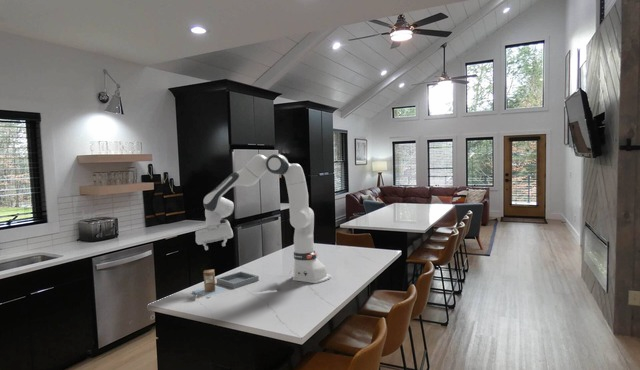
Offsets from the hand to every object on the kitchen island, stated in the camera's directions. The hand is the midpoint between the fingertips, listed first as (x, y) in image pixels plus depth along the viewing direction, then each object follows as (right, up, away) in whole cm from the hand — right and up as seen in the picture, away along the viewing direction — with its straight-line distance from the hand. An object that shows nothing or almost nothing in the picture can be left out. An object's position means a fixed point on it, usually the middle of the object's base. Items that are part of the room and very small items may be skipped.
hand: (215, 247), depth 209 cm
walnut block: (+1, -20, -12) cm, 23 cm away
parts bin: (+12, -20, 0) cm, 23 cm away
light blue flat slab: (+1, -21, -12) cm, 24 cm away
